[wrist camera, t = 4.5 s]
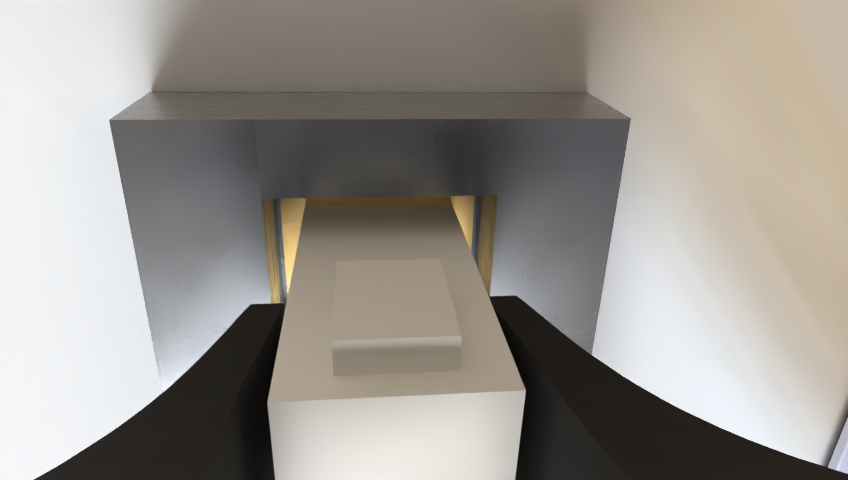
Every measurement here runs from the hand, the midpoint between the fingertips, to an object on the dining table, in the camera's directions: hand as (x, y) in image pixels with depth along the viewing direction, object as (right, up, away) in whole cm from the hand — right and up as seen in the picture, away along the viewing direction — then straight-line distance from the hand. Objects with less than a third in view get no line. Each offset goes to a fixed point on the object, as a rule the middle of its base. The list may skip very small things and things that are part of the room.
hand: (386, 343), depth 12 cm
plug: (0, +1, +3) cm, 4 cm away
